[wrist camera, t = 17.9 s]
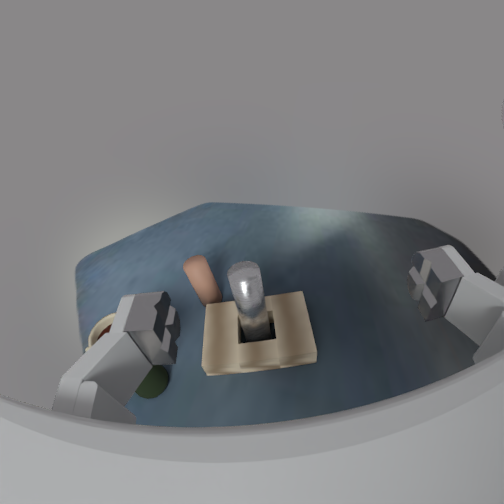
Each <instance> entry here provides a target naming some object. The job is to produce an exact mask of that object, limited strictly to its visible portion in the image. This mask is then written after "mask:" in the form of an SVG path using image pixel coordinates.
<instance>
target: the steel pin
mask: <svg viewBox="0 0 504 504" xmlns="http://www.w3.org/2000/svg"><path fill="white" fill-rule="evenodd" d="M227 275H228V279H229V282H230V286H231V290H232V293H233V297H234V300H235V304H236V307H237V311H238V314H239V318H240V321H241V324H242V328H243V331H244V335H245V338H246V341H247V343H250V342H258V341H265V340H271V338H272V336H271V330H270V325H269V319H268V313H267V308H266V302H265V296H264V291H263V285H262V279H261V274H260V268H259V266H258V265H257V264H256V263H254V262H251V261H242V262H239V263H236V264H234V265H233V266H231V267H230V269H229V270H228V273H227Z"/></svg>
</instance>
